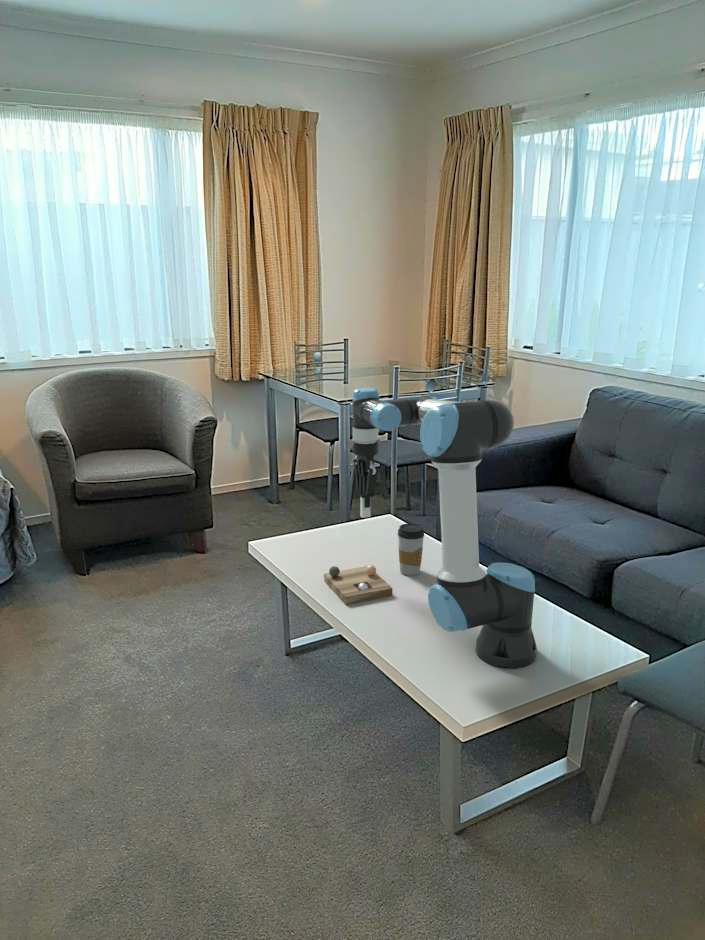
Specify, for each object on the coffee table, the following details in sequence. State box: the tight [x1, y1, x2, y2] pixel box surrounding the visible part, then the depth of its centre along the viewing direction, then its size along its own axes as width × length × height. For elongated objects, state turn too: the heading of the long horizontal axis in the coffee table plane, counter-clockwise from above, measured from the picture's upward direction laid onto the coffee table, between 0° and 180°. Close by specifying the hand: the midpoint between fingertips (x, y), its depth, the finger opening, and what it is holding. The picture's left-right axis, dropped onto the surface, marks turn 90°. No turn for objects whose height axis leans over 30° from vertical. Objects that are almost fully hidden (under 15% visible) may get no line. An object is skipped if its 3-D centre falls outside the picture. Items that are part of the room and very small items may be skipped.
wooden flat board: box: [323, 565, 393, 605], centre depth 224 cm, size 17×15×2 cm
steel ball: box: [357, 583, 369, 590], centre depth 220 cm, size 3×3×3 cm
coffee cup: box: [397, 522, 425, 577], centre depth 234 cm, size 8×8×15 cm
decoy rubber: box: [328, 565, 341, 577], centre depth 226 cm, size 3×3×3 cm
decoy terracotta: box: [366, 564, 377, 576], centre depth 227 cm, size 3×3×3 cm
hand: (365, 516), depth 226 cm, fingers closed
